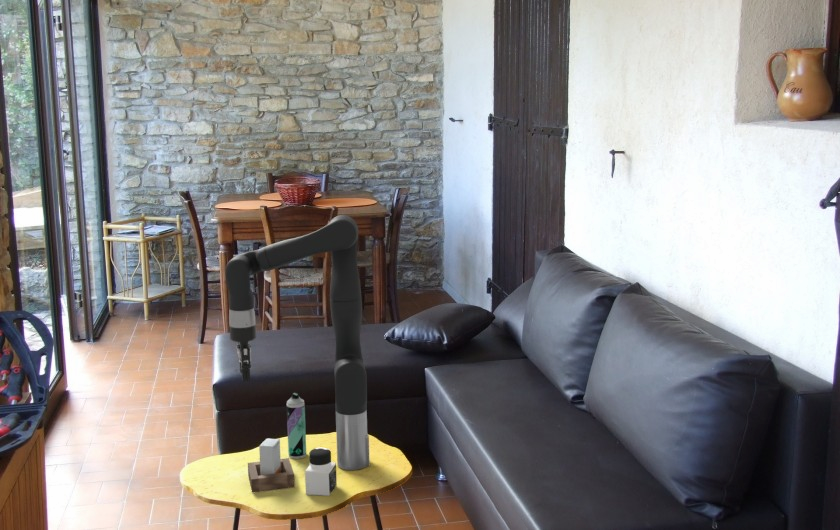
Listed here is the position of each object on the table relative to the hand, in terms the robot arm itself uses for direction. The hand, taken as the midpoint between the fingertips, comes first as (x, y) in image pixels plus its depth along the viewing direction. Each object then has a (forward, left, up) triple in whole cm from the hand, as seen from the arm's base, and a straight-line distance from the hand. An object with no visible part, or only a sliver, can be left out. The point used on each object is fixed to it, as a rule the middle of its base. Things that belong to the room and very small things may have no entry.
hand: (245, 376), depth 263 cm
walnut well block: (-5, +13, -28) cm, 31 cm away
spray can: (-15, -4, -28) cm, 32 cm away
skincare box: (-5, +13, -28) cm, 32 cm away
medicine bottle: (-18, +23, -28) cm, 41 cm away
